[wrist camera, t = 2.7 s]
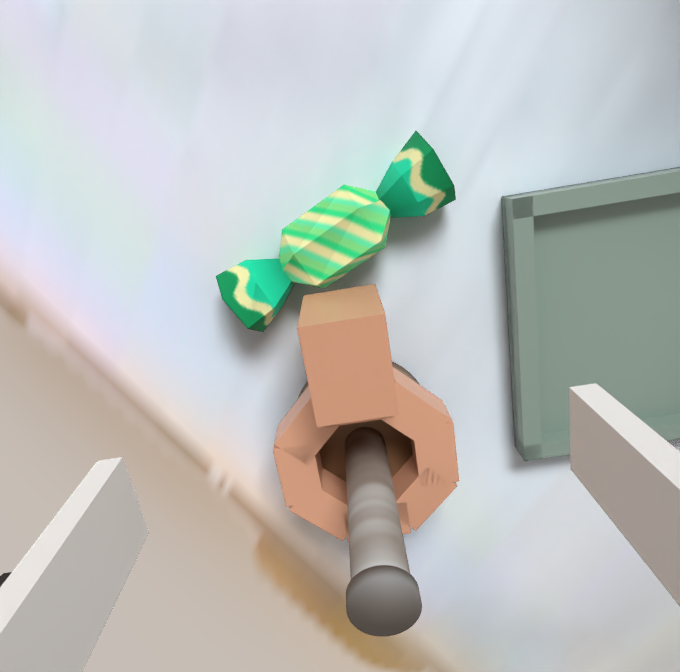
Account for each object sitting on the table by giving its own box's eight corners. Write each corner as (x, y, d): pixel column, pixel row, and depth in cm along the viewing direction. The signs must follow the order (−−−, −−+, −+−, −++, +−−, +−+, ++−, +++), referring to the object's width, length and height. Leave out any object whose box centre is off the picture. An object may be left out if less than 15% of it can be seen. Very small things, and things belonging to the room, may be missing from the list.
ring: (298, 524, 29) (292, 594, 25) (248, 304, 25) (228, 338, 20) (454, 501, 29) (478, 568, 24) (431, 274, 25) (455, 302, 20)
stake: (282, 367, 29) (245, 531, 16) (421, 345, 29) (492, 495, 16) (307, 483, 32) (292, 703, 19) (435, 465, 32) (506, 675, 19)
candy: (406, 119, 24) (445, 161, 22) (429, 169, 27) (467, 212, 24) (211, 261, 27) (226, 315, 24) (250, 295, 29) (268, 347, 27)
